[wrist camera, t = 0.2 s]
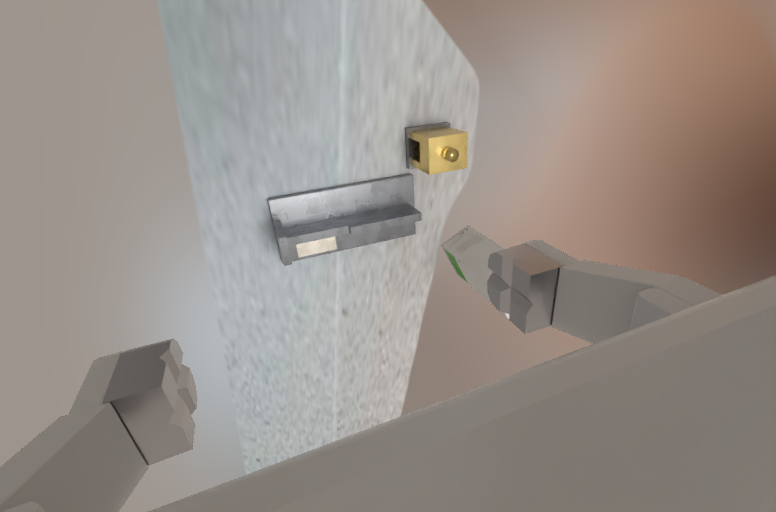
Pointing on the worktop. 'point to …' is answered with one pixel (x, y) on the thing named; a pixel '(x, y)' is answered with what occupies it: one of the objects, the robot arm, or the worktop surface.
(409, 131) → the thin grey square plate
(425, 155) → the gold knobbed block
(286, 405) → the worktop surface
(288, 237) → the rail
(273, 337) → the worktop surface
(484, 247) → the skincare box
